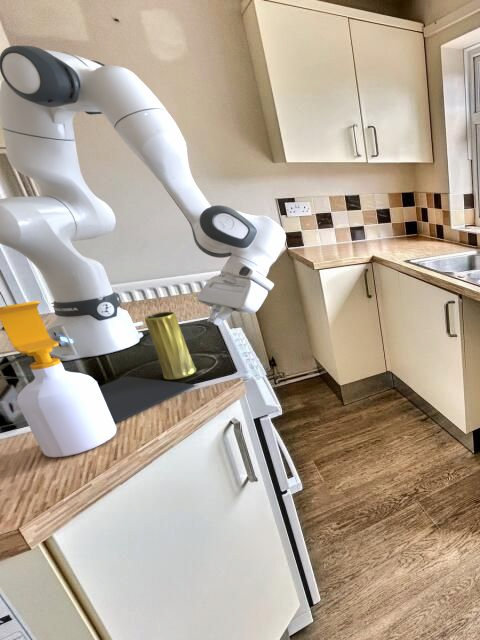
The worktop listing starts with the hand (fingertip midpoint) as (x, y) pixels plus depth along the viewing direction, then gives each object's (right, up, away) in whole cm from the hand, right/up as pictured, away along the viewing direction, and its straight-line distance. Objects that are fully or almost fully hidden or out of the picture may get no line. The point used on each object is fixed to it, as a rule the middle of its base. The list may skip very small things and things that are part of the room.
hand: (213, 324), depth 101 cm
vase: (-4, -12, -4) cm, 13 cm away
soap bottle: (-1, -21, -29) cm, 36 cm away
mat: (-8, -16, -15) cm, 23 cm away
